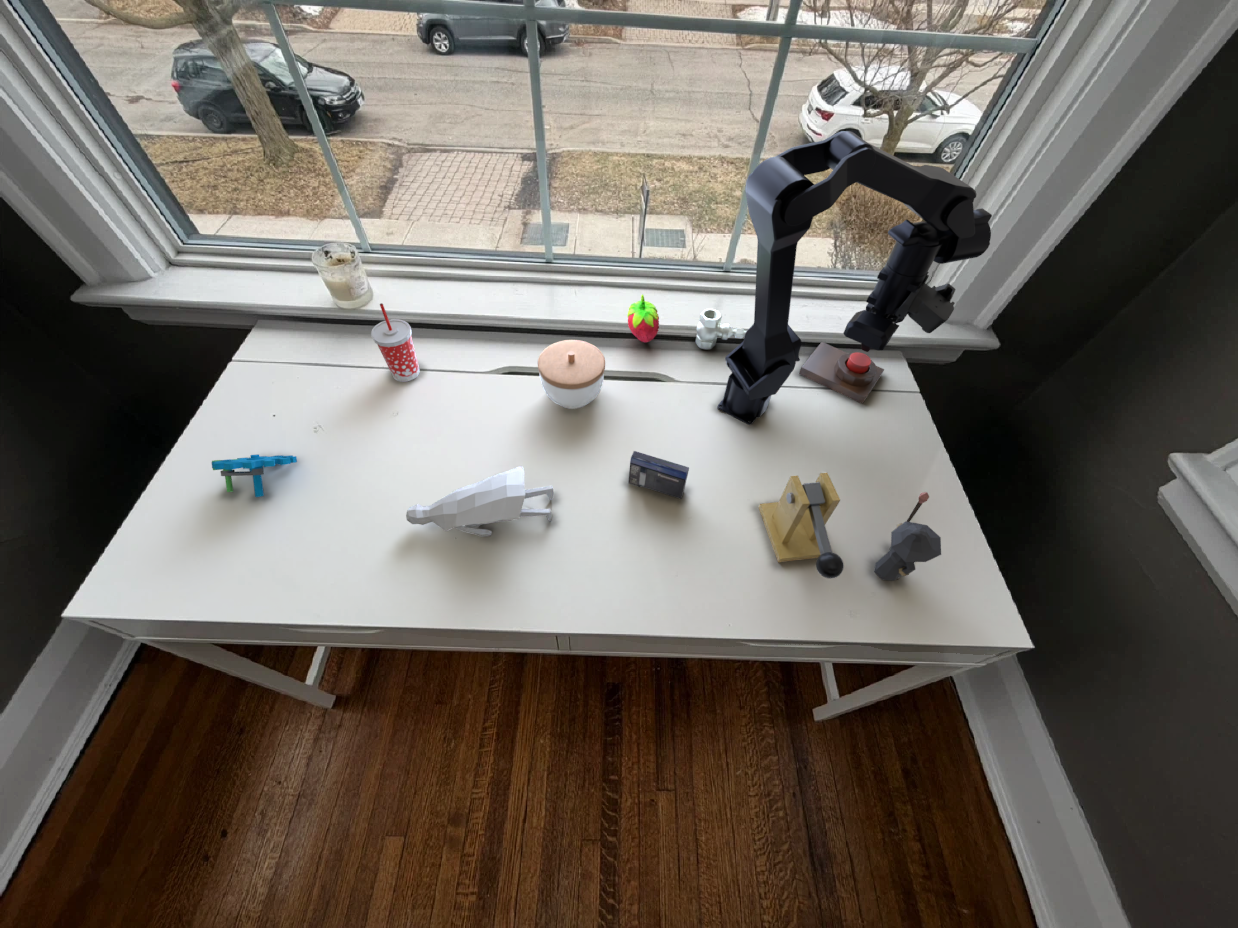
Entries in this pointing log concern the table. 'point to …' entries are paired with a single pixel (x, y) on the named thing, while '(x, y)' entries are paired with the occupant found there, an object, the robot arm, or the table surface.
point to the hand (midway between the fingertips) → (865, 349)
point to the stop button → (858, 363)
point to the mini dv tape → (657, 474)
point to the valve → (714, 329)
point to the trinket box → (571, 372)
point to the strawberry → (643, 320)
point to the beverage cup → (396, 347)
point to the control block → (839, 373)
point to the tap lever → (822, 534)
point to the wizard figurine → (909, 547)
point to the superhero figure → (482, 504)
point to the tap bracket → (796, 520)
